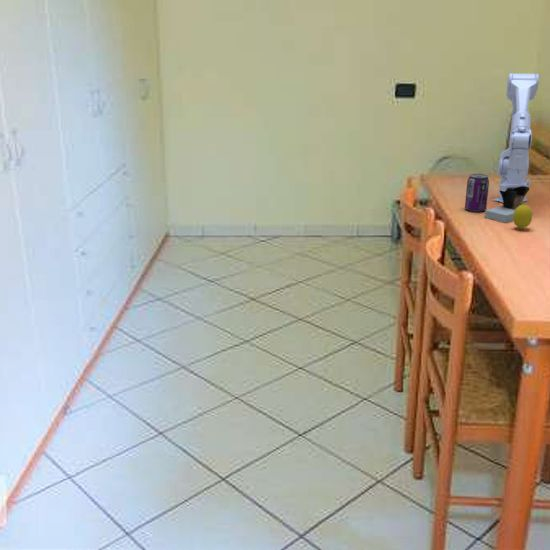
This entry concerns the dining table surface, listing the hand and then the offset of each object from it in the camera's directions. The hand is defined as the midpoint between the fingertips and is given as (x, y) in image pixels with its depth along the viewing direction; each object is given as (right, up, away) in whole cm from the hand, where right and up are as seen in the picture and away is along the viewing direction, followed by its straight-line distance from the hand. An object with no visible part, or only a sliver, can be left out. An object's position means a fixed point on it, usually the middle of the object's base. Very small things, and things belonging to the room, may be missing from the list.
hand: (512, 208), depth 227 cm
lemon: (-3, -8, -17) cm, 19 cm away
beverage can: (-11, 0, +4) cm, 12 cm away
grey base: (-5, -4, -6) cm, 8 cm away
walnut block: (0, -1, +1) cm, 1 cm away
